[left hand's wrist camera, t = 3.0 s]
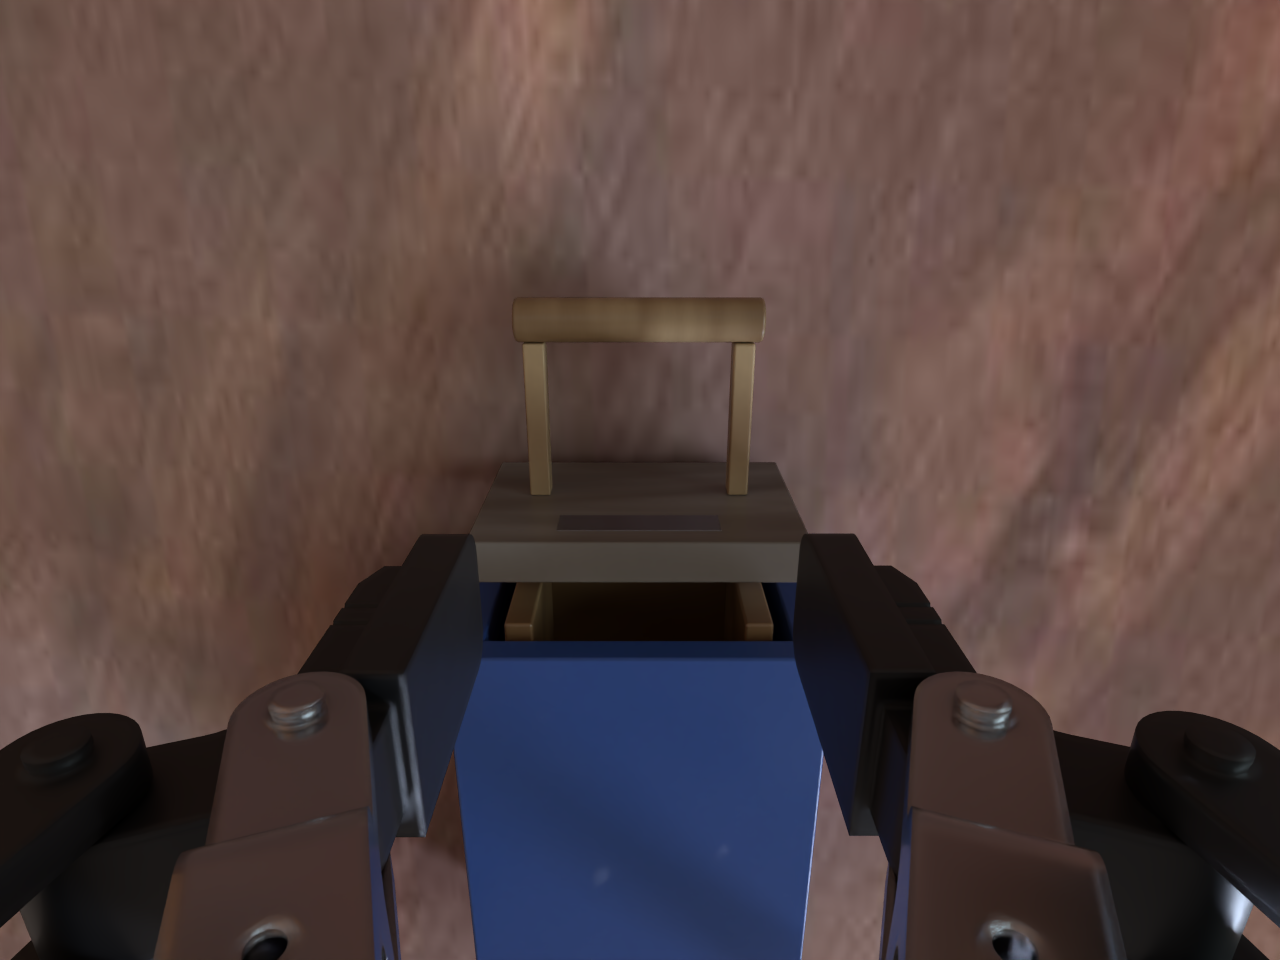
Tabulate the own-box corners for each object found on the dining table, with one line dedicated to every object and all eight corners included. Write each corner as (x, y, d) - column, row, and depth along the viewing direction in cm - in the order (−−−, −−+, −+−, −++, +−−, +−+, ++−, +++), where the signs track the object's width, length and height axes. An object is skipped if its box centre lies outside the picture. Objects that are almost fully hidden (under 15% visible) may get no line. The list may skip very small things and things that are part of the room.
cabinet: (494, 528, 28) (442, 658, 20) (783, 529, 28) (834, 658, 20) (522, 904, 35) (490, 1103, 27) (755, 904, 35) (787, 1103, 27)
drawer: (489, 284, 24) (444, 320, 18) (788, 284, 24) (833, 320, 18) (528, 850, 32) (505, 994, 27) (749, 850, 32) (772, 994, 27)
